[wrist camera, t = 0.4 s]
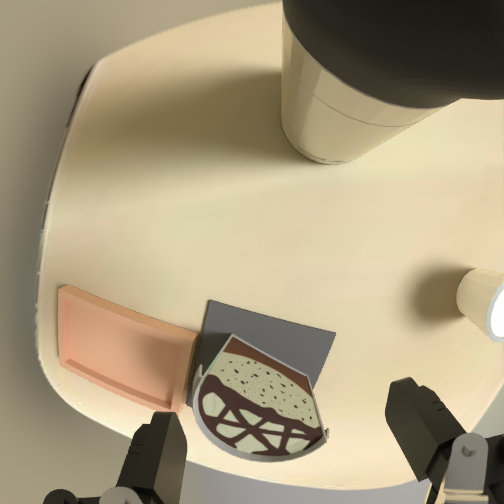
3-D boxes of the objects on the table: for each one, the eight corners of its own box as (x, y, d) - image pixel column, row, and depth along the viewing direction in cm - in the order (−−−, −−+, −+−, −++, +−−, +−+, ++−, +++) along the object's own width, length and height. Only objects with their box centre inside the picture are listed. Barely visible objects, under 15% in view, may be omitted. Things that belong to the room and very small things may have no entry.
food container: (192, 367, 30) (162, 424, 20) (219, 325, 29) (193, 378, 19) (287, 417, 30) (287, 481, 20) (319, 381, 29) (332, 444, 19)
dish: (68, 284, 31) (58, 288, 29) (198, 333, 30) (193, 341, 28) (67, 358, 32) (59, 365, 30) (182, 408, 32) (177, 418, 30)
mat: (210, 299, 29) (210, 300, 29) (335, 332, 29) (336, 333, 28) (187, 404, 32) (186, 405, 31) (292, 430, 31) (292, 432, 31)
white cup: (442, 311, 27) (475, 335, 20) (466, 254, 26) (505, 266, 19) (478, 326, 27) (510, 349, 20) (500, 274, 26) (536, 288, 19)
